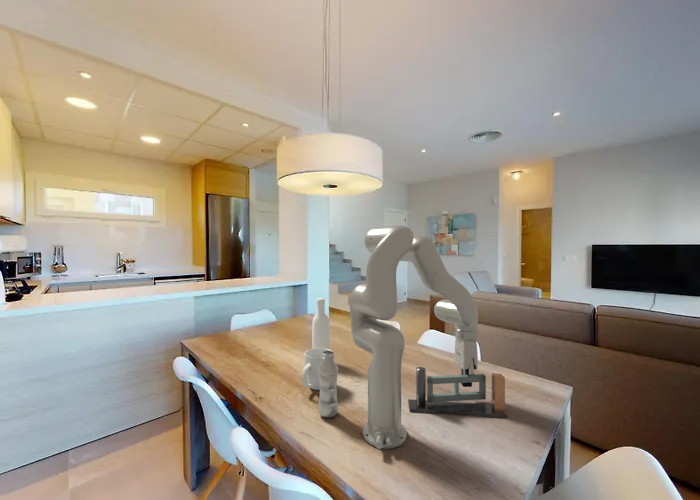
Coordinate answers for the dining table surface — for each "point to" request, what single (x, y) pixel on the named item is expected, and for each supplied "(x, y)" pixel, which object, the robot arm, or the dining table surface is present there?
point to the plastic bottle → (328, 385)
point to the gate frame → (458, 407)
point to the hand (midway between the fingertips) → (466, 385)
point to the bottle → (320, 327)
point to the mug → (312, 367)
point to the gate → (456, 388)
